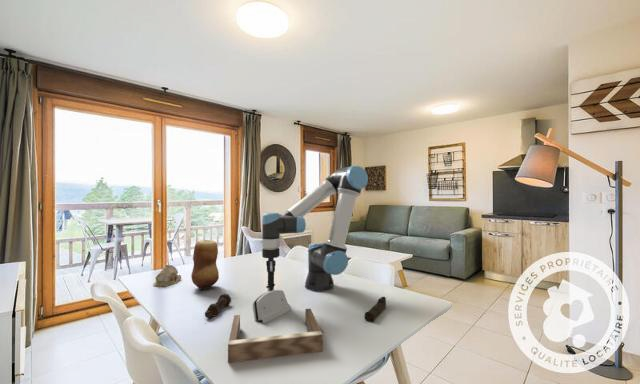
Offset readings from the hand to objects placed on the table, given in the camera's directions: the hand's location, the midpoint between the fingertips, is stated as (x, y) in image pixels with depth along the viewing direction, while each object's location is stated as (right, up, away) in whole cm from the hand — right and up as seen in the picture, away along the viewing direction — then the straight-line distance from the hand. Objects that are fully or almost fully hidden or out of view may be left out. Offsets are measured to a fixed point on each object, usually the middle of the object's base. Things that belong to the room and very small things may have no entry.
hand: (270, 301), depth 124 cm
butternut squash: (-39, -2, +23) cm, 45 cm away
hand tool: (+45, -2, -9) cm, 46 cm away
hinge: (+2, -2, -9) cm, 10 cm away
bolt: (-21, -2, -7) cm, 22 cm away
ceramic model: (-63, -3, +33) cm, 72 cm away
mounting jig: (+7, -1, -29) cm, 30 cm away
